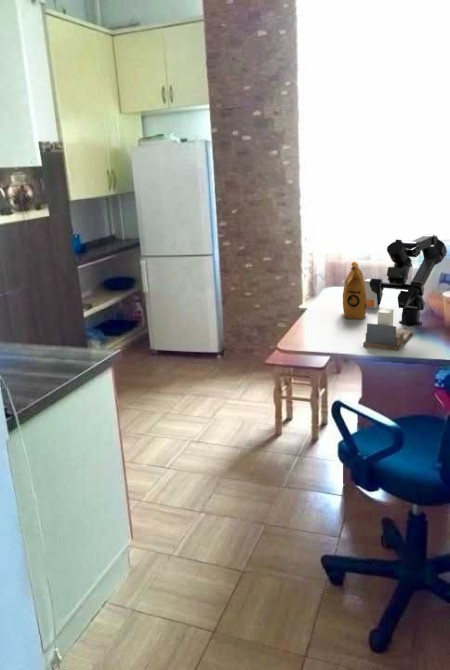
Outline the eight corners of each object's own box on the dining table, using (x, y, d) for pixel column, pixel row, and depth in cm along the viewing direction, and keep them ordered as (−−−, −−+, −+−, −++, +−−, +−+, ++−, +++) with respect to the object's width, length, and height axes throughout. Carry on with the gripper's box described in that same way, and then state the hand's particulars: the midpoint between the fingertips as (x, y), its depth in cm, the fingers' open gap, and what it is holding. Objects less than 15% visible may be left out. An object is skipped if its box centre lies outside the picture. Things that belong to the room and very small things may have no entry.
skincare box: (362, 306, 246) (363, 280, 243) (367, 304, 249) (368, 278, 245) (374, 308, 242) (375, 282, 238) (379, 306, 245) (381, 280, 241)
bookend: (367, 341, 196) (367, 323, 194) (395, 345, 191) (396, 326, 189) (366, 342, 196) (367, 323, 194) (394, 346, 191) (395, 326, 189)
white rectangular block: (381, 337, 200) (382, 308, 197) (392, 339, 198) (393, 309, 194) (376, 341, 196) (378, 312, 193) (388, 343, 194) (389, 313, 190)
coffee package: (340, 319, 230) (341, 266, 223) (343, 311, 241) (344, 261, 234) (365, 320, 227) (366, 267, 220) (366, 311, 238) (368, 261, 231)
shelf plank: (380, 330, 212) (380, 319, 211) (412, 334, 206) (413, 323, 205) (363, 346, 197) (363, 334, 195) (397, 351, 190) (397, 338, 189)
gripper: (371, 256, 203) (360, 292, 197) (424, 259, 193) (414, 297, 187) (377, 273, 211) (367, 308, 206) (428, 276, 202) (418, 313, 196)
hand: (390, 306), depth 199 cm, fingers open, 9 cm apart
